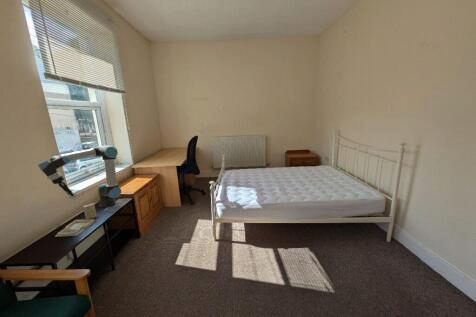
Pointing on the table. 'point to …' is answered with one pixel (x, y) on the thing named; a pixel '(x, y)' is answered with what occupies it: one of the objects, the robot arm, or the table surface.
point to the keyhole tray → (75, 227)
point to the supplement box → (89, 211)
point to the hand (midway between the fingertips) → (73, 197)
